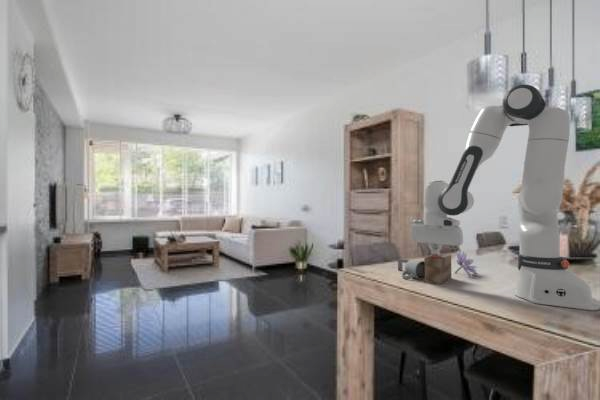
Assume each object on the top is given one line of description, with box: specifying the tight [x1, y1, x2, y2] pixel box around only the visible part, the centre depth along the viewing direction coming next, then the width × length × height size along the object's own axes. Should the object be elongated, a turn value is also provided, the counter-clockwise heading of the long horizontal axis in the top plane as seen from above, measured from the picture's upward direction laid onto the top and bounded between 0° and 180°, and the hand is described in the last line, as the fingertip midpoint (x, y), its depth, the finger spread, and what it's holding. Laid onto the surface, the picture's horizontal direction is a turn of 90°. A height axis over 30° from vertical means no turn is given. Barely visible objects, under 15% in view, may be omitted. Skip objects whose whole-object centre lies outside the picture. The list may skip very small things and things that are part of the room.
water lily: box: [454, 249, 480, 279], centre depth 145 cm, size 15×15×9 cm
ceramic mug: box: [401, 259, 425, 281], centre depth 139 cm, size 11×8×8 cm
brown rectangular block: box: [423, 253, 452, 286], centre depth 134 cm, size 6×14×10 cm, turn 138°
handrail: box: [397, 258, 411, 272], centre depth 149 cm, size 19×2×5 cm, turn 48°
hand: (435, 254), depth 132 cm, fingers closed, pressing on gauge button
